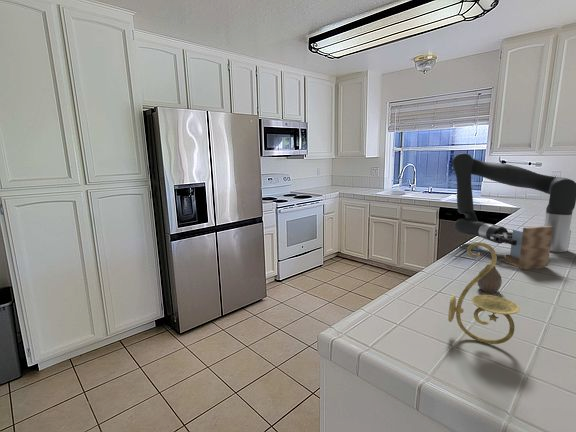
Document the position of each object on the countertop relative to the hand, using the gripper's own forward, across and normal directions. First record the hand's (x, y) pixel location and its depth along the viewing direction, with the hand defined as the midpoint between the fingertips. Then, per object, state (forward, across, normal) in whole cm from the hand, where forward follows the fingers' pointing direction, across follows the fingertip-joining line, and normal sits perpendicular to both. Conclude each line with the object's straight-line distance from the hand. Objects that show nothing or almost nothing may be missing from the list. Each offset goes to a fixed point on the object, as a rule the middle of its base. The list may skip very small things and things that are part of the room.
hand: (524, 242), depth 129 cm
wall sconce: (+44, -58, +9) cm, 73 cm away
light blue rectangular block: (-1, 0, +9) cm, 9 cm away
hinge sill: (-1, 0, +9) cm, 9 cm away
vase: (+19, -33, +10) cm, 39 cm away
